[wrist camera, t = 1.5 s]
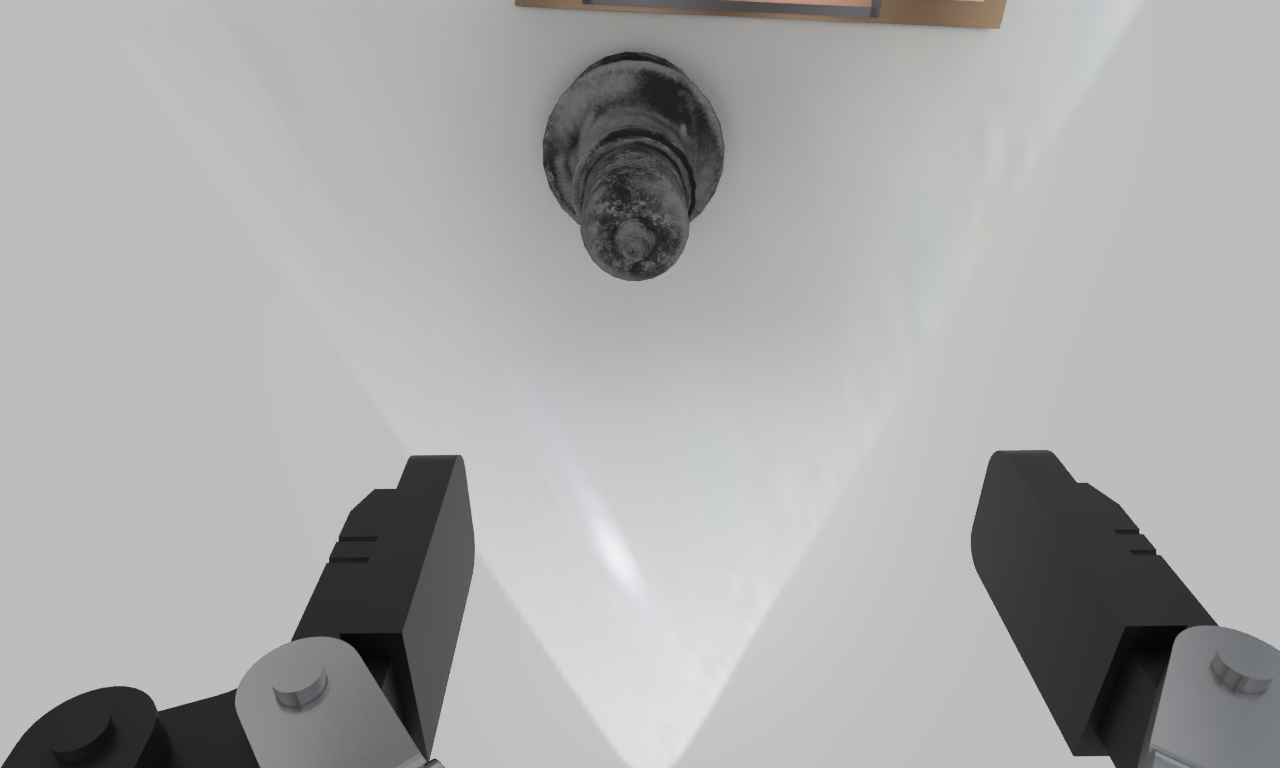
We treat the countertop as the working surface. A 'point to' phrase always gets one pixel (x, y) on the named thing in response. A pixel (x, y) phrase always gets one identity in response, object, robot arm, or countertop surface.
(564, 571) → the countertop surface
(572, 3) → the picture board
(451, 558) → the robot arm
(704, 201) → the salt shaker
